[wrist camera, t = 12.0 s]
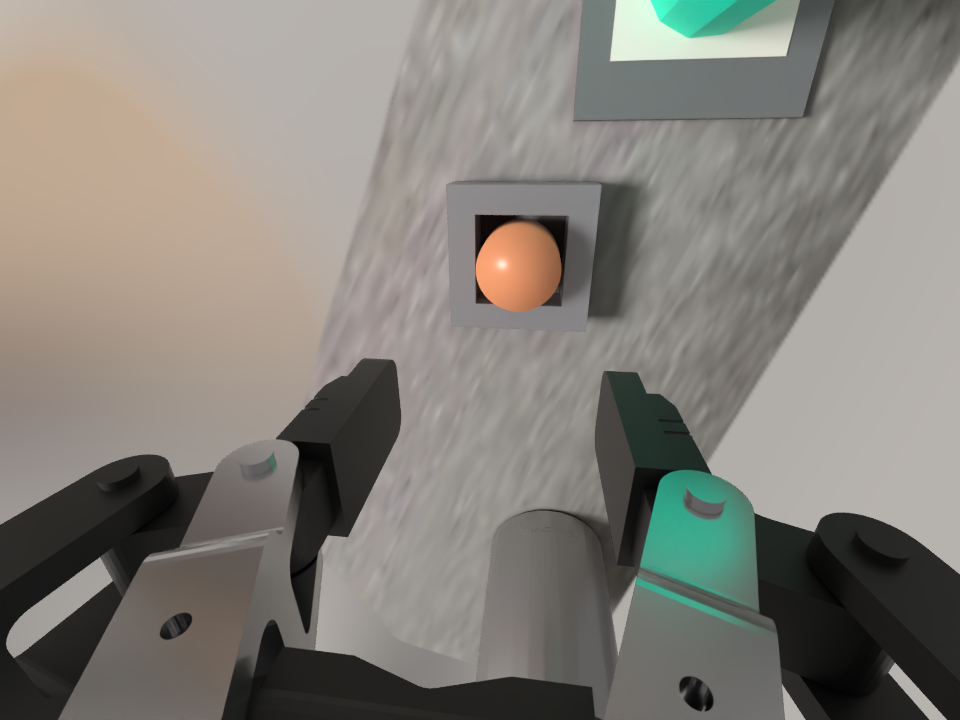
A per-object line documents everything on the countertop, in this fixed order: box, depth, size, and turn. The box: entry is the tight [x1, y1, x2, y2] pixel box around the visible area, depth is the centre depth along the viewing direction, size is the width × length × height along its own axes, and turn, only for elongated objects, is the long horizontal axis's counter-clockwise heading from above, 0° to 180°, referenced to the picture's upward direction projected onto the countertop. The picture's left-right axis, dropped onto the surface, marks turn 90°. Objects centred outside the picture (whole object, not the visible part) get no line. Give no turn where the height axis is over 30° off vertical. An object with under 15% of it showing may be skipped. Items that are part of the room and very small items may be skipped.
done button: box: [476, 218, 561, 312], centre depth 24 cm, size 4×4×3 cm
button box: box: [446, 182, 602, 332], centre depth 25 cm, size 8×8×2 cm
